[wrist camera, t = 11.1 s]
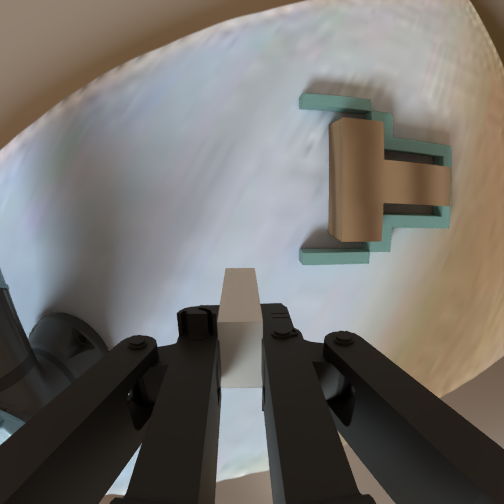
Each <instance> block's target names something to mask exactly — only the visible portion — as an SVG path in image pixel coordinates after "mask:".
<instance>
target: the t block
mask: <svg viewBox="0 0 504 504" xmlns="http://www.w3.org/2000/svg"><path fill="white" fill-rule="evenodd" d="M450 198H451V167H445V166H438V165H430V164H421V163H413V162H403V161H393V160H384V128H383V122H382V121H374V120H365V119H356V118H345V117H342V118H341V119H339V120H337V121H335V122H334V123H332V124H330V125H329V225H328V233H329V234H331V235H332V236H334V237H335V238H337V239H338V240H340V241H341V242H382V227H383V204H384V203H396V204H417V205H435V206H450Z"/></svg>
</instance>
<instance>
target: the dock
mask: <svg viewBox="0 0 504 504" xmlns="http://www.w3.org/2000/svg"><path fill="white" fill-rule="evenodd" d="M299 109H308V110H324V111H337V112H348V113H358V114H364V117H365V120H374V121H382V122H383V128H384V151H390V152H400V153H408V154H417V155H424V156H432V157H434V165H438V166H445V167H451V181H452V154H451V146H447V145H441V144H435V143H429V142H422V141H415V140H408V139H401V138H393V117H392V114H391V113H384V112H377V111H371V100H369V99H362V98H353V97H344V96H333V95H322V94H307V93H303V94H302V95H301V96H300V98H299ZM450 208H451V198H450V206H435V205H433V215H431V214H404V213H383V227H382V242H363V248H322V249H299V261H300V262H301V263H302V265H330V264H368V263H369V256H370V252H390V247H391V233H392V227H399V228H449V224H450Z"/></svg>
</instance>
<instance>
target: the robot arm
mask: <svg viewBox="0 0 504 504" xmlns="http://www.w3.org/2000/svg"><path fill="white" fill-rule="evenodd" d="M8 289H9V286H8V285H7V284H6V282H5V280H4V277H3V275H2V272H1V269H0V504H99V502H100V501H101V500H102V498H103V497H104V495H105V494H106V493H107V491H108V490H109V488H110V487H111V486H112V484H113V483H114V482H115V480H116V479H117V477H118V476H119V475H120V473H121V472H122V470H123V469H124V467H125V466H126V465H127V463H128V462H129V460H130V459H131V458H132V456H133V455H134V453H135V452H136V451H137V449H138V448H139V446H140V445H141V443H142V445H141V448H140V451H139V454H138V457H137V460H136V463H135V467H134V470H133V473H132V476H131V479H130V483H129V486H128V489H127V492H126V494H125V496H124V497H123V498H114V499H113V500H112V501H111V502H110V504H215V488H216V471H217V455H218V439H219V424H220V409H221V388H262V411H264V417H265V427H266V438H267V448H268V458H269V468H270V478H271V488H272V497H273V504H376V503H375V501H374V499H373V498H372V497H371V496H370V495H369V494H366V495H362V494H361V493H360V492H359V490H358V488H357V485H356V482H355V479H354V477H353V474H352V471H351V468H350V465H349V462H348V460H347V457H346V454H345V451H344V448H343V445H342V443H341V440H340V437H339V434H338V431H339V433H340V434H341V435H342V437H343V438H344V439H345V441H346V442H347V443H348V444H349V446H350V447H351V448H352V449H353V451H354V452H355V453H356V455H357V456H358V457H359V459H360V460H361V461H362V462H363V464H364V465H365V466H366V467H367V468H368V470H369V471H370V472H371V474H372V475H373V476H374V477H375V479H376V480H377V481H378V482H379V484H380V485H381V486H382V487H383V489H384V490H385V491H386V492H387V494H388V495H389V496H390V497H391V499H392V500H393V501H394V502H395V503H396V504H504V449H503V448H502V447H500V446H499V445H498V444H497V443H495V442H494V441H493V440H491V439H490V438H489V437H488V436H486V435H485V434H484V433H483V432H481V431H480V430H479V429H478V428H476V427H475V426H474V425H472V424H471V423H470V422H469V421H467V420H466V419H465V418H464V417H462V416H461V415H460V414H458V413H457V412H456V411H455V410H453V409H452V408H451V407H449V406H448V405H447V404H446V403H444V402H443V401H442V400H441V399H439V398H438V397H437V396H435V395H434V394H433V393H432V392H430V391H429V390H428V389H427V388H425V387H424V386H423V385H421V384H420V383H419V382H418V381H416V380H415V379H414V378H413V377H411V376H410V375H409V374H407V373H406V372H405V371H404V370H402V369H401V368H400V367H399V366H397V365H396V364H395V363H393V362H392V361H391V360H390V359H388V358H387V357H386V356H384V355H383V354H382V353H381V352H379V351H378V350H377V349H376V348H374V347H373V346H372V345H370V344H369V343H368V342H367V341H365V340H364V339H363V338H362V337H360V336H358V335H357V334H355V333H351V332H349V331H345V332H344V331H339V332H332V333H329V334H328V335H326V336H325V339H324V343H316V342H310V341H306V340H304V339H303V336H302V334H301V332H300V331H299V330H297V329H295V328H294V326H293V323H292V321H291V318H290V315H289V312H288V309H287V307H285V306H284V305H282V304H281V303H271V304H260V299H259V293H258V286H257V280H256V274H255V268H226V270H225V276H224V282H223V288H222V295H221V301H220V305H200V306H195V307H188V308H184V309H182V310H180V311H179V312H178V313H177V320H178V330H179V337H178V340H177V343H175V344H172V345H167V346H161V347H157V343H156V340H155V339H154V338H152V337H149V336H142V335H137V336H136V335H135V336H132V337H129V338H126V339H124V340H123V341H121V342H120V343H119V344H117V345H116V346H115V347H114V348H113V349H112V350H110V351H109V352H108V349H107V347H106V345H105V344H104V342H103V341H102V339H101V338H100V336H99V335H98V334H97V333H96V332H95V331H94V330H93V329H92V328H91V327H90V326H89V325H88V324H86V323H85V322H83V321H82V320H80V319H78V318H77V317H74V316H72V315H69V314H65V313H53V314H49V315H47V316H45V317H44V318H42V319H41V320H40V321H39V322H38V323H36V325H35V326H34V327H33V328H32V330H31V332H30V335H29V339H28V338H27V336H26V334H25V331H24V329H23V327H22V325H21V322H20V320H19V317H18V315H17V312H16V310H15V307H14V304H13V301H12V298H11V296H10V293H9V290H8ZM128 393H129V395H128ZM337 430H338V431H337Z"/></svg>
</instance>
